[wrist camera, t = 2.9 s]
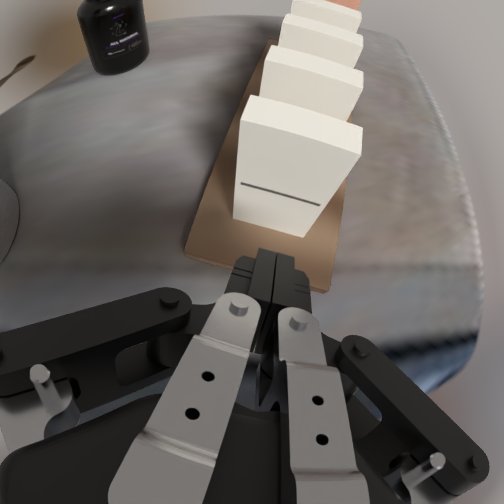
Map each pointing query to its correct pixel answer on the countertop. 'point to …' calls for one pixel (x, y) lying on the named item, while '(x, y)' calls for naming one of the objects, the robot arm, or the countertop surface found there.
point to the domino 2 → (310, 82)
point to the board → (254, 236)
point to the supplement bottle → (114, 34)
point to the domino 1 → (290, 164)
